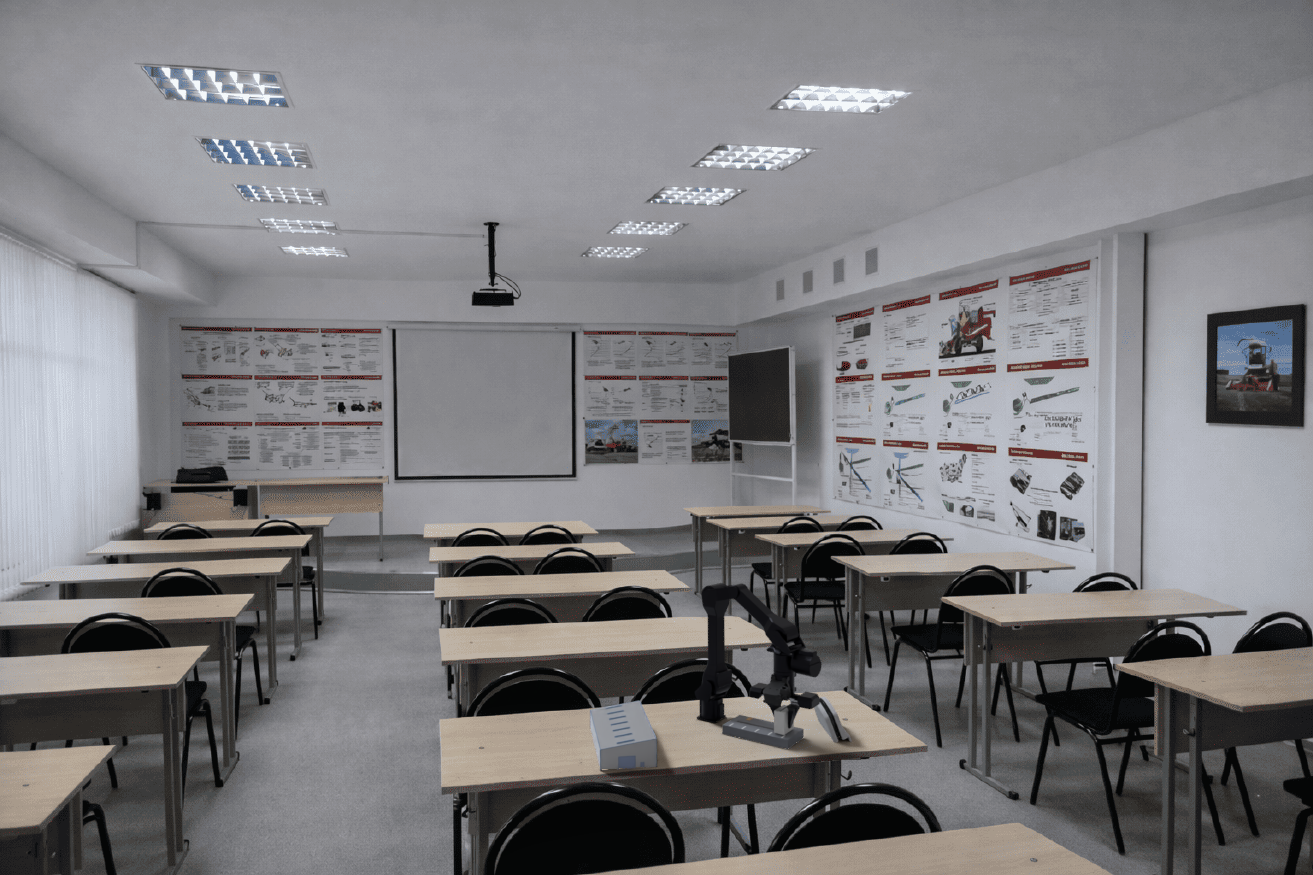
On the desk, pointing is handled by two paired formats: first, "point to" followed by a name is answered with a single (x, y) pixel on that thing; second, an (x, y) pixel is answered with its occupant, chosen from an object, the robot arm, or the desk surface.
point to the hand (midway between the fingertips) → (783, 726)
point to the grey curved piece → (830, 720)
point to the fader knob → (781, 720)
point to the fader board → (761, 732)
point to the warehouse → (623, 736)
